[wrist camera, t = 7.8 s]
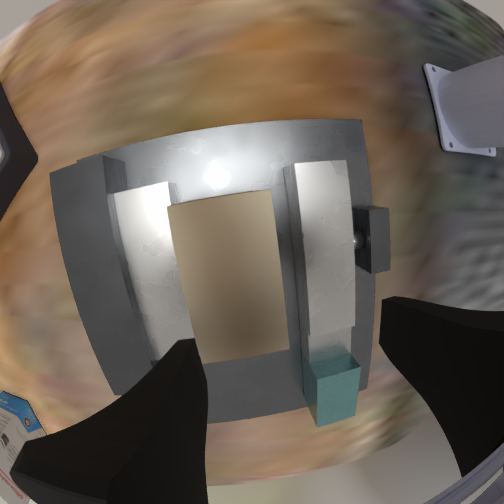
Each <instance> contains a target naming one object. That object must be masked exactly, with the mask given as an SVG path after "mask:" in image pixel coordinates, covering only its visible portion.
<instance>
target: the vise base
mask: <svg viewBox="0 0 504 504" xmlns="http://www.w3.org/2000/svg"><path fill="white" fill-rule="evenodd" d="M335 160H346V163H347V170H348V179H349V187H350V197H351V208H352V220H353V235H354V255H355V326H353V327H351V352H350V353H351V355H352V356H353V357H354V359H355V360H356V361H357V362H358V364H359V365H360V366H361V371H360V380H359V389H358V391H361V390H364V389H367V383H368V376H369V368H370V359H371V349H372V338H373V323H374V304H375V273H379V272H383V271H388V270H390V222H389V208H385V207H377V206H373V205H372V194H371V183H370V174H369V166H368V159H367V151H366V145H365V139H364V133H363V127H362V121H361V120H357V119H304V120H283V121H269V122H257V123H247V124H238V125H230V126H222V127H215V128H208V129H202V130H196V131H190V132H185V133H179V134H174V135H169V136H164V137H160V138H155V139H151V140H147V141H142V142H138V143H134V144H130V145H127V146H123V147H119V148H116V149H112V150H109V151H105V152H102V153H99V154H95V155H92V156H89V157H86V158H83V159H80V160H77V163H76V164H73V165H70V166H67V167H64V168H62V169H59V170H56V171H54V172H51V173H49V174H50V184H51V193H52V201H53V208H54V215H55V221H56V226H57V232H58V237H59V242H60V246H61V251H62V255H63V259H64V263H65V267H66V271H67V275H68V279H69V282H70V286H71V289H72V292H73V296H74V299H75V302H76V305H77V308H78V311H79V314H80V317H81V319H82V322H83V325H84V328H85V330H86V333H87V335H88V338H89V341H90V343H91V345H92V348H93V350H94V353H95V355H96V357H97V360H98V362H99V364H100V366H101V368H102V370H103V373H104V375H105V377H106V379H107V381H108V383H109V385H110V387H111V389H112V391H113V393H114V395H124V394H125V393H126V392H127V391H129V390H130V389H131V388H132V387H133V386H134V385H136V384H137V383H138V382H139V381H140V380H141V379H142V378H143V377H144V376H145V375H146V374H147V373H148V372H149V371H150V370H151V369H152V368H153V367H154V366H155V365H156V364H157V363H158V361H159V360H160V359H161V358H162V357H163V356H164V355H165V354H166V353H167V352H168V350H169V349H170V348H171V347H172V346H173V345H174V344H175V343H176V342H177V341H178V340H181V339H190V338H195V336H194V332H193V329H192V325H191V321H190V317H189V313H188V309H187V305H186V301H185V297H184V293H183V289H182V284H181V280H180V275H179V271H178V266H177V261H176V257H175V252H174V247H173V242H172V237H171V231H170V226H169V220H168V215H167V209H166V206H170V205H174V204H178V203H182V202H186V201H191V200H197V199H203V198H208V197H214V196H221V195H227V194H233V193H240V192H246V191H254V190H269V189H271V195H272V202H273V210H274V217H275V225H276V233H277V240H278V248H279V256H280V265H281V273H282V282H283V290H284V299H285V309H286V318H287V327H288V337H289V348H290V349H287V350H282V351H277V352H272V353H267V354H262V355H257V356H251V357H246V358H240V359H233V360H227V361H220V362H213V363H206V364H202V366H203V369H204V372H205V376H206V379H207V386H208V417H207V424H210V423H219V422H228V421H236V420H243V419H249V418H255V417H261V416H267V415H272V414H277V413H282V412H286V411H291V410H295V409H300V408H304V407H308V405H307V403H306V400H305V398H304V386H303V366H302V349H301V334H300V320H299V307H298V295H297V283H296V273H295V262H294V252H293V243H292V234H291V225H290V216H289V208H288V200H287V192H286V184H285V177H284V169H283V167H286V166H289V165H291V164H294V163H305V162H319V161H335ZM195 341H196V340H195ZM196 344H197V343H196ZM197 348H198V347H197ZM198 352H199V351H198ZM199 355H200V354H199ZM200 359H201V357H200ZM201 362H202V361H201Z"/></svg>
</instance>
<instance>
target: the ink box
mask: <svg viewBox="0 0 504 504" xmlns="http://www.w3.org/2000/svg"><path fill="white" fill-rule="evenodd" d="M43 436H46V433H45V432H44V430H43V428H42V427H41V425H40V423H39V422H38V420H37V418H36V416H35V415H34V413H33V411H32V409H31V407H30V405H29V403H28V402H27V401H25V400H22V399H20V398H17V397H15V396H12V395H10V394H7V393H5V392H1V394H0V497H1V498H2V499H3V500H4V501H5V502H6V503H8V504H28V503H29V500H30V497H28V496H27V495H26V494H25V493H24V492H23V491H22V490H21V489H20V488H18V486H17V485H16V484H15V483H14V482H13V480H12V478H11V476H10V474H9V472H10V470H11V468H12V466H13V464H14V462H15V460H16V458H17V456H18V454H19V452H20V450H21V449H22V447H23V445H24V443H25V442H26V441H28V440H33V439H36V438H40V437H43Z"/></svg>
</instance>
